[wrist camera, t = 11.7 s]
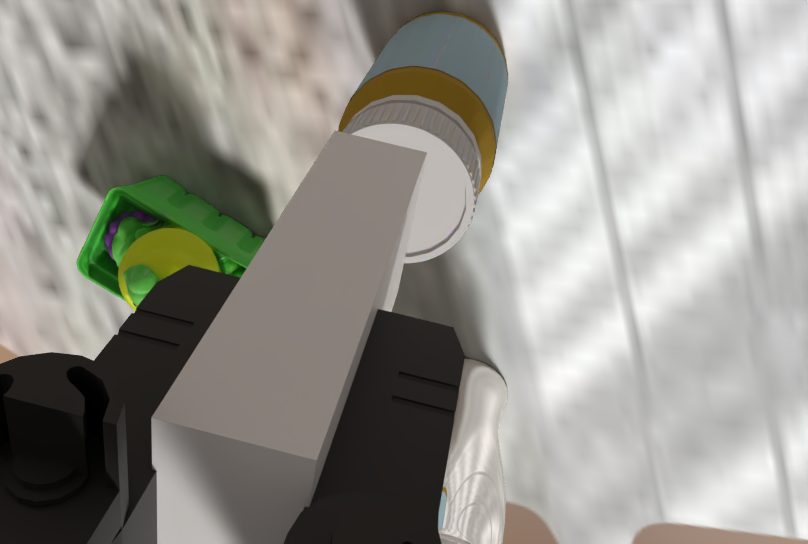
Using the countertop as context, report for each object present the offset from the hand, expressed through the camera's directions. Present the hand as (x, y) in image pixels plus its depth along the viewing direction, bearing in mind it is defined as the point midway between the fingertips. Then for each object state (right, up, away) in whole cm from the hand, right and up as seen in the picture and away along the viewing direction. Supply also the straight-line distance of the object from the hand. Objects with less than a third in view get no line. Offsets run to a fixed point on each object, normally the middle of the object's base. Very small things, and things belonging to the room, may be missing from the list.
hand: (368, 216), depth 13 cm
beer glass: (+5, -9, +42) cm, 43 cm away
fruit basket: (-12, +2, +38) cm, 40 cm away
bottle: (+3, +10, +30) cm, 32 cm away
